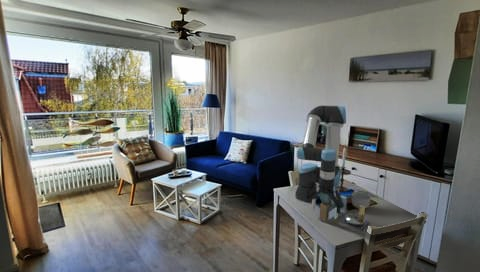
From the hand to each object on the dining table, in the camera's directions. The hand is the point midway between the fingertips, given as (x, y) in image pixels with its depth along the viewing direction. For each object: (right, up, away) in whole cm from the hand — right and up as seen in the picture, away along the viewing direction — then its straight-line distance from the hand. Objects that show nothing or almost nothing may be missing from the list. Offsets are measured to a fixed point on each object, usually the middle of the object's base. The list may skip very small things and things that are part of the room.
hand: (324, 213), depth 141 cm
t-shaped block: (+7, -3, +8) cm, 11 cm away
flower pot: (+9, 0, +22) cm, 24 cm away
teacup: (+28, -1, +19) cm, 34 cm away
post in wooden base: (+5, -2, +5) cm, 8 cm away
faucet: (+16, -4, -2) cm, 17 cm away
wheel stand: (+16, -5, -1) cm, 17 cm away
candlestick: (+27, +4, +44) cm, 52 cm away
